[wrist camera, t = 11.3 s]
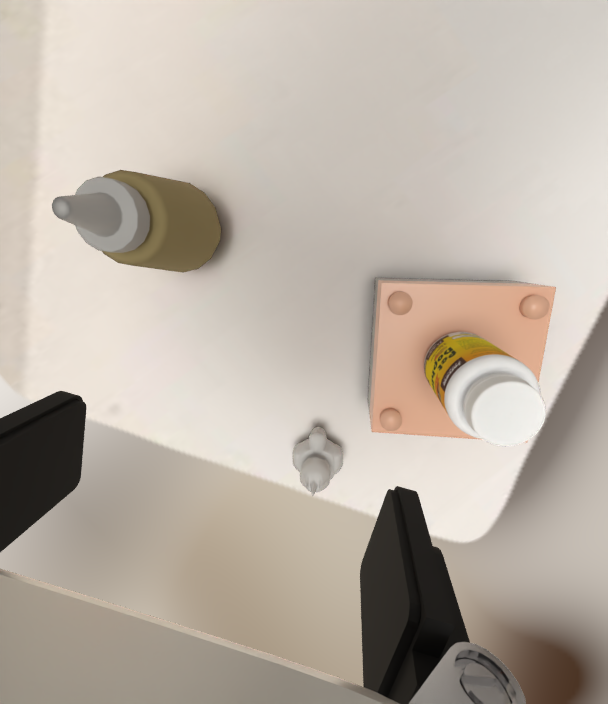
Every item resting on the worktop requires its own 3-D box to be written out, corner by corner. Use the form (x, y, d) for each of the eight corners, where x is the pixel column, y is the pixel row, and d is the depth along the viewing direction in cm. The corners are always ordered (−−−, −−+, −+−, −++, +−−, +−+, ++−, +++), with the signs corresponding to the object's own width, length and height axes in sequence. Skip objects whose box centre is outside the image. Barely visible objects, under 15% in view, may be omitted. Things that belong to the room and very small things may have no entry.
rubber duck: (296, 469, 43) (284, 515, 35) (295, 417, 41) (283, 454, 34) (342, 472, 43) (341, 520, 35) (343, 420, 41) (342, 457, 33)
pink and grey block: (375, 277, 37) (382, 283, 29) (513, 280, 35) (561, 287, 27) (367, 399, 40) (372, 436, 32) (493, 407, 38) (531, 447, 30)
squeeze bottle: (219, 282, 39) (114, 303, 21) (148, 254, 39) (-14, 252, 21) (242, 204, 36) (146, 157, 19) (167, 175, 37) (3, 102, 19)
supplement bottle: (431, 324, 30) (472, 358, 20) (501, 337, 29) (578, 377, 19) (414, 388, 31) (445, 449, 21) (481, 401, 31) (543, 469, 21)
